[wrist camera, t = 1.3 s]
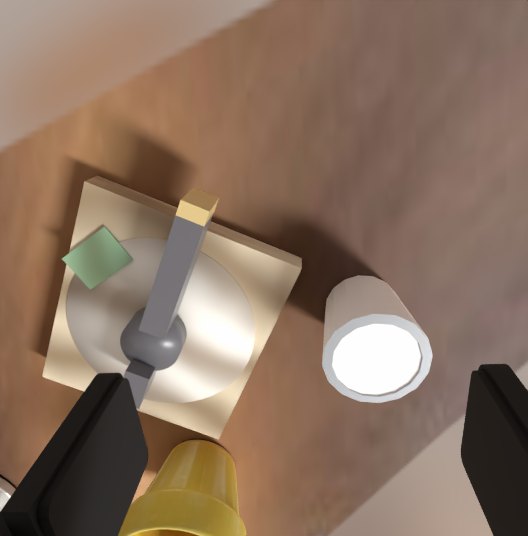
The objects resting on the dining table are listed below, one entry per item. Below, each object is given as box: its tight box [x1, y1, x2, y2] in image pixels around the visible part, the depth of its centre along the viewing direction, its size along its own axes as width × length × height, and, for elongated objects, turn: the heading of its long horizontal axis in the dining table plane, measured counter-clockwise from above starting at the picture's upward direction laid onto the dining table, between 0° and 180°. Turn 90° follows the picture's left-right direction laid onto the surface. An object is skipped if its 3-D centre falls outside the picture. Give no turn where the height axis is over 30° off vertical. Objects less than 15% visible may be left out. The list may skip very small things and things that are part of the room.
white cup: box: [322, 275, 433, 403], centre depth 29 cm, size 7×7×7 cm
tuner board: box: [42, 175, 302, 439], centre depth 33 cm, size 18×16×2 cm
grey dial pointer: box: [120, 187, 219, 409], centre depth 29 cm, size 16×4×3 cm, turn 158°
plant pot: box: [118, 440, 246, 536], centre depth 36 cm, size 10×10×10 cm
